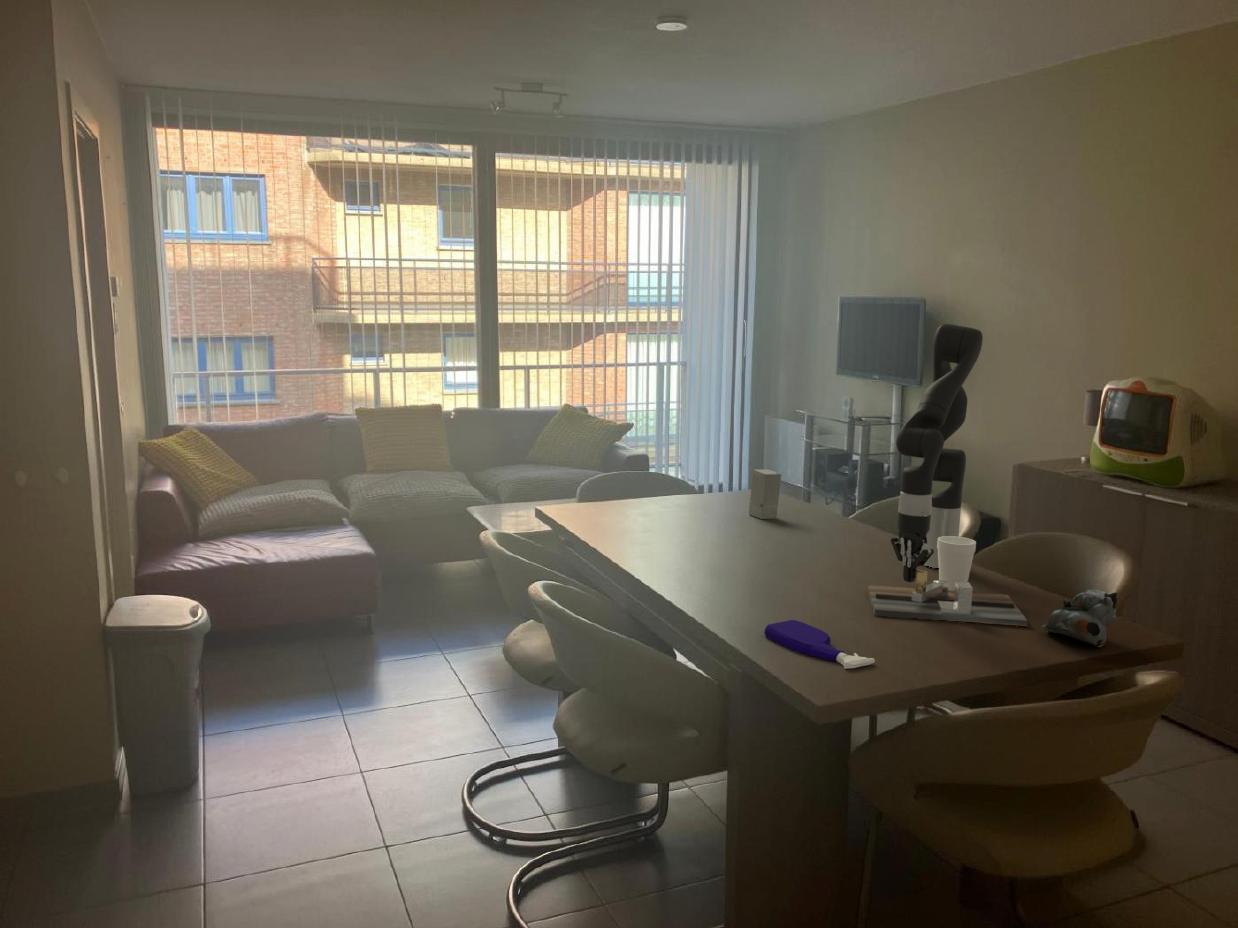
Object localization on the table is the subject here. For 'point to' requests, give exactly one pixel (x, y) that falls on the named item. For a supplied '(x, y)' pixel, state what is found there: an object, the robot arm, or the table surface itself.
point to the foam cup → (955, 559)
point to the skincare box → (764, 494)
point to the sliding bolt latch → (982, 605)
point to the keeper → (958, 600)
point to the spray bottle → (811, 643)
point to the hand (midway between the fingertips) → (909, 581)
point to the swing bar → (927, 587)
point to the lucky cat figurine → (1085, 617)
